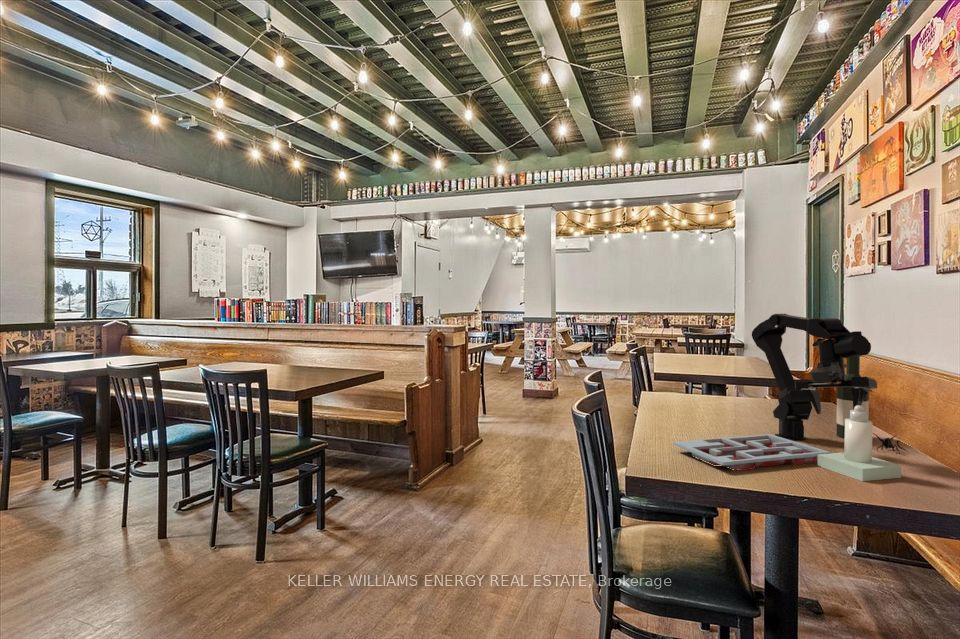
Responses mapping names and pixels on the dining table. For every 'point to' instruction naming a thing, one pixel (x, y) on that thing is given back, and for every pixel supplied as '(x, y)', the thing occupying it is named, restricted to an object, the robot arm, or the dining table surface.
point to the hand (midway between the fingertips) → (836, 414)
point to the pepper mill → (858, 436)
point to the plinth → (859, 467)
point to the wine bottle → (848, 396)
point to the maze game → (751, 451)
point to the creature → (889, 444)
